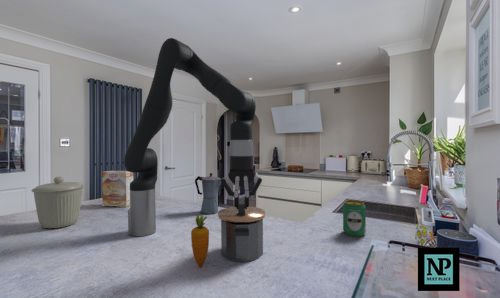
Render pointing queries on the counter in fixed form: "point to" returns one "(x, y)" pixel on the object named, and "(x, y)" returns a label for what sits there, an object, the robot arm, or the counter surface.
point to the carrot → (200, 241)
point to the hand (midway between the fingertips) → (241, 208)
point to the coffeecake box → (116, 188)
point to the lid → (241, 213)
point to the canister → (58, 203)
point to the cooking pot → (242, 240)
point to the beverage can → (354, 218)
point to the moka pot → (209, 193)
